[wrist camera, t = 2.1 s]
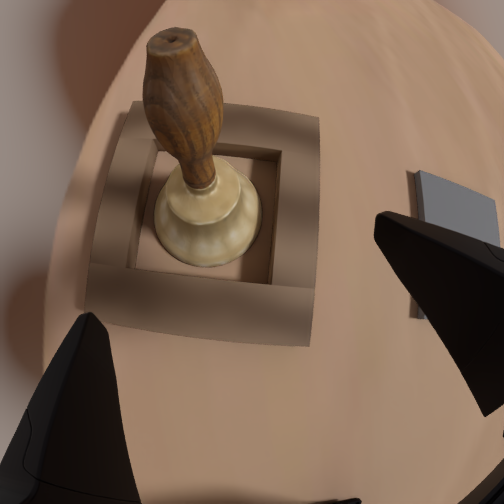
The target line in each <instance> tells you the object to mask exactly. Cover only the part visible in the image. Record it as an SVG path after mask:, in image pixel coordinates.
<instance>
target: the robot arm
mask: <svg viewBox="0 0 504 504" xmlns="http://www.w3.org/2000/svg"><path fill="white" fill-rule="evenodd" d="M374 239H375V242H376V244H377V245H378V247H379V248H380V250H381V251H382V253H383V254H384V256H385V258H386V259H387V261H388V262H389V264H390V265H391V267H392V269H393V270H394V272H395V273H396V275H397V277H398V278H399V279H400V281H401V282H402V284H403V285H404V286H405V288H406V289H407V290H408V292H409V293H410V295H411V296H412V297H413V299H414V300H415V302H416V303H417V304H418V306H419V307H420V309H421V310H422V312H423V313H424V314H425V316H426V317H427V319H428V320H429V322H430V323H431V325H432V326H433V328H434V329H435V331H436V332H437V334H438V336H439V337H440V339H441V340H442V342H443V343H444V345H445V347H446V348H447V350H448V352H449V353H450V355H451V356H452V358H453V360H454V362H455V363H456V365H457V367H458V368H459V370H460V372H461V374H462V376H463V377H464V379H465V381H466V383H467V385H468V387H469V388H470V390H471V392H472V394H473V396H474V398H475V400H476V402H477V404H478V406H479V408H480V410H481V412H482V414H483V416H484V417H486V416H488V415H489V414H491V413H492V412H494V411H495V410H497V409H498V408H499V407H501V406H502V405H503V404H504V249H503V248H500V247H498V246H495V245H492V244H490V243H487V242H483V241H481V240H479V239H476V238H473V237H470V236H467V235H465V234H462V233H459V232H456V231H453V230H450V229H447V228H444V227H441V226H438V225H435V224H431V223H428V222H425V221H422V220H418V219H415V218H412V217H408V216H405V215H401V214H398V213H394V212H391V211H384V212H381V213H379V214H377V216H376V218H375V228H374ZM503 437H504V432H503ZM361 503H362V501H361V500H360V499H359V498H358V499H353V500H348V501H344V502H339V503H333V504H361ZM0 504H142V503H141V500H140V497H139V493H138V490H137V487H136V483H135V479H134V476H133V472H132V468H131V463H130V459H129V455H128V450H127V445H126V440H125V435H124V430H123V424H122V418H121V411H120V404H119V396H118V388H117V380H116V374H115V369H114V364H113V358H112V353H111V347H110V340H109V334H108V332H107V329H106V328H105V327H104V325H103V324H102V323H101V322H100V320H99V319H98V318H97V317H96V315H95V314H94V313H92V312H87V313H83V314H81V315H79V317H78V318H77V320H76V321H75V323H74V324H73V326H72V327H71V329H70V330H69V332H68V334H67V335H66V337H65V339H64V340H63V342H62V343H61V345H60V347H59V348H58V350H57V352H56V353H55V355H54V357H53V359H52V360H51V362H50V364H49V366H48V367H47V369H46V371H45V373H44V375H43V377H42V378H41V380H40V382H39V384H38V386H37V388H36V390H35V392H34V394H33V396H32V398H31V400H30V402H29V404H28V406H27V409H26V410H25V412H24V415H23V417H22V419H21V421H20V423H19V426H18V428H17V430H16V432H15V434H14V436H13V438H12V440H11V442H10V444H9V446H8V448H7V451H6V453H5V455H4V457H3V459H2V461H1V463H0ZM458 504H504V459H503V460H502V461H501V462H500V463H499V464H498V465H497V466H496V468H495V469H494V470H493V471H492V472H491V473H490V474H489V475H488V476H487V477H486V478H485V479H484V480H483V481H482V482H481V483H480V484H479V485H478V486H477V487H476V488H475V489H474V490H473V491H472V492H470V493H469V494H468V495H467V496H466V497H465V498H464V499H463V500H461V501H460V502H459V503H458Z"/></svg>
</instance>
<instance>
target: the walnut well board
mask: <svg viewBox="0 0 504 504" xmlns="http://www.w3.org/2000/svg"><path fill="white" fill-rule="evenodd" d="M223 110H224V111H223V122H222V128H221V132H220V135H219V138H218V140H217V143H216V145H215V147H214V148H213V150H212V154H214V155H225V156H234V157H243V158H251V159H259V160H266V161H273V162H277V176H276V189H275V202H274V215H273V228H272V240H271V251H270V263H269V274H268V285H267V284H257V283H247V282H237V281H228V280H219V279H210V278H201V277H193V276H184V275H176V274H168V273H160V272H153V271H145V270H138V269H135V264H136V257H137V250H138V244H139V237H140V231H141V226H142V220H143V215H144V210H145V205H146V200H147V195H148V190H149V186H150V182H151V177H152V173H153V169H154V165H155V161H156V157H157V153H158V151H166V150H165V149H164V148H163V147H162V145H161V144H160V143H159V142H158V140H157V139H156V137H155V135H154V134H153V132H152V130H151V128H150V126H149V123H148V121H147V118H146V115H145V111H144V105H143V101H133V103H132V105H131V108H130V110H129V113H128V115H127V118H126V121H125V123H124V126H123V129H122V132H121V135H120V138H119V140H118V143H117V146H116V150H115V153H114V156H113V159H112V162H111V166H110V169H109V173H108V176H107V180H106V184H105V188H104V192H103V196H102V200H101V204H100V208H99V213H98V217H97V222H96V227H95V233H94V238H93V244H92V250H91V256H90V263H89V270H88V278H87V287H86V297H85V310H84V313H87V312H92V313H94V314H95V315H96V317H97V318H98V319H99V320H100V321H101V322H105V323H110V324H115V325H120V326H125V327H130V328H135V329H141V330H146V331H152V332H158V333H165V334H171V335H178V336H185V337H193V338H201V339H209V340H218V341H228V342H238V343H250V344H264V345H281V346H305V347H309V346H310V337H311V328H312V318H313V307H314V296H315V283H316V269H317V252H318V232H319V202H320V130H319V117H314V116H309V115H304V114H299V113H294V112H288V111H282V110H276V109H270V108H263V107H255V106H247V105H238V104H228V103H223Z"/></svg>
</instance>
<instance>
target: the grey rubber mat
mask: <svg viewBox="0 0 504 504" xmlns="http://www.w3.org/2000/svg"><path fill="white" fill-rule="evenodd" d="M414 176H415V184H416V193H417V203H418V216H419V220H422V221H425V222H428V223H431V224H435V225H438V226H441V227H444V228H447V229H450V230H453V231H456V232H459V233H462V234H465V235H467V236H470V237H473V238H476V239H479V240H481V241H483V242H487V243H490V244H492V245H495V246H498V247H500V238H499V227H498V219H497V212H496V205H495V200H493V199H491V198H489V197H486V196H484V195H482V194H480V193H478V192H475V191H473V190H471V189H468V188H466V187H464V186H461V185H459V184H456V183H454V182H451V181H449V180H446V179H443V178H441V177H438V176H435V175H432V174H430V173H427V172H424V171H421V170H419V171H418V172H416V173H415V174H414ZM418 319H427V317H426V316H425V314H424V313H423V312H422V310H421V309H420V307H419V306H418Z"/></svg>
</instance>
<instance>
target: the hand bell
mask: <svg viewBox="0 0 504 504" xmlns="http://www.w3.org/2000/svg"><path fill="white" fill-rule="evenodd" d="M146 47H147V60H146V70H145V76H144V82H143V105H144V111H145V115H146V118H147V121H148V123H149V126H150V128H151V130H152V132H153V134H154V135H155V137H156V139H157V140H158V142H159V143H160V144H161V145H162V147H163V148H164V149H165V150H166V151H167V152H168V153H169V154H171V155H172V156H173V157H175V158H176V159H178V160H179V163H180V164H178V165H177V166H176V167H175V169H174V170H173V171H172V173H171V174H170V176H169V178H168V180H167V182H166V183H165V185H164V186H163V188H162V189H161V191H160V193H159V195H158V197H157V200H156V203H155V208H154V225H155V229H156V233H157V235H158V237H159V240H160V242H161V243H162V245H163V246H164V247H165V249H166V250H167V251H168V252H169V253H170V254H171V255H173V256H174V257H175V258H177V259H178V260H180V261H182V262H184V263H187V264H190V265H193V266H197V267H216V266H220V265H224V264H226V263H229V262H231V261H233V260H235V259H237V258H238V257H240V256H241V255H242V254H244V253H245V252H246V251H247V250H248V249H249V248H250V246H251V245H252V244H253V242H254V241H255V239H256V237H257V235H258V233H259V230H260V227H261V223H262V205H261V200H260V197H259V194H258V192H257V190H256V188H255V187H254V185H253V184H252V183H251V181H250V180H249V179H248V178H247V177H246V176H245V175H244V174H242V173H241V172H239V171H238V170H236V169H234V168H233V167H232V166H231V165H230V164H229V163H228V162H226V161H225V160H223V159H221V158H219V157H216V156H213V155H212V150H213V148H214V147H215V145H216V143H217V140H218V138H219V135H220V132H221V128H222V122H223V111H224V110H223V95H222V89H221V86H220V83H219V80H218V77H217V75H216V73H215V71H214V69H213V67H212V66H211V64H210V62H209V61H208V59H207V58H206V56H205V54H204V52H203V50H202V48H201V46H200V44H199V41H198V38H197V35H196V33H195V32H194V31H193V30H190V29H184V28H178V27H174V28H169V29H166V30H163V31H160V32H159V33H157V34H156V35H154V36H153V37H151V39H150V40H149V41H148V43H147V46H146Z"/></svg>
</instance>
